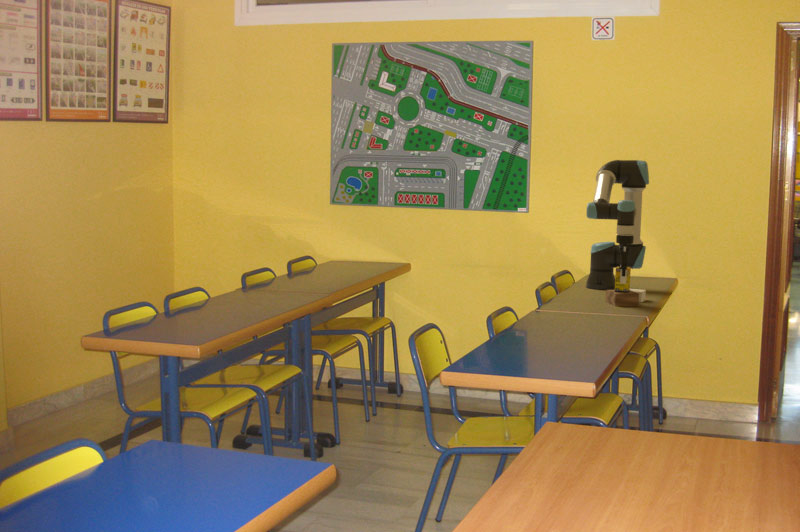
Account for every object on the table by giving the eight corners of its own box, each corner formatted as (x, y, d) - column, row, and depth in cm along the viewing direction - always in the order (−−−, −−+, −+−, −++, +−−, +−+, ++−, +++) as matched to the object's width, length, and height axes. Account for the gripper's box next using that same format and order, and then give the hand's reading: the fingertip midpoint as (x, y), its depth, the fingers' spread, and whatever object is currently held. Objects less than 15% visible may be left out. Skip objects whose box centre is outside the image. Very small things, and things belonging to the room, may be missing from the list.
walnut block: (605, 302, 397) (606, 289, 397) (628, 302, 399) (628, 289, 398) (614, 306, 386) (615, 293, 386) (638, 306, 388) (638, 293, 387)
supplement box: (614, 292, 390) (615, 268, 389) (616, 290, 396) (617, 266, 394) (628, 292, 388) (629, 268, 387) (629, 290, 394) (630, 267, 392)
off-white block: (623, 301, 401) (624, 290, 401) (628, 298, 408) (628, 288, 408) (641, 302, 397) (641, 292, 397) (645, 300, 404) (645, 289, 404)
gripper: (634, 237, 376) (632, 285, 378) (633, 232, 400) (630, 278, 403) (616, 236, 377) (614, 284, 380) (616, 232, 402) (614, 277, 404)
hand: (622, 281), depth 391 cm, fingers open, 13 cm apart
